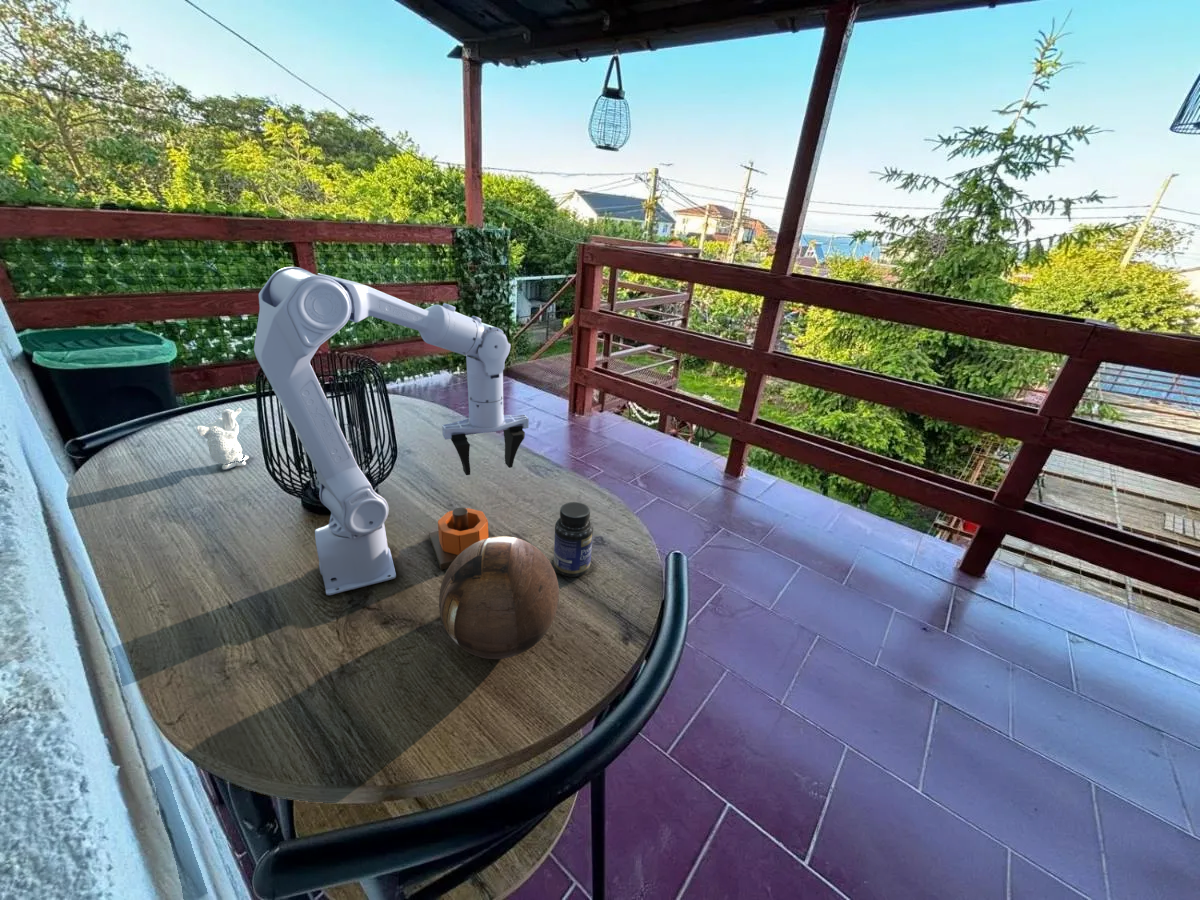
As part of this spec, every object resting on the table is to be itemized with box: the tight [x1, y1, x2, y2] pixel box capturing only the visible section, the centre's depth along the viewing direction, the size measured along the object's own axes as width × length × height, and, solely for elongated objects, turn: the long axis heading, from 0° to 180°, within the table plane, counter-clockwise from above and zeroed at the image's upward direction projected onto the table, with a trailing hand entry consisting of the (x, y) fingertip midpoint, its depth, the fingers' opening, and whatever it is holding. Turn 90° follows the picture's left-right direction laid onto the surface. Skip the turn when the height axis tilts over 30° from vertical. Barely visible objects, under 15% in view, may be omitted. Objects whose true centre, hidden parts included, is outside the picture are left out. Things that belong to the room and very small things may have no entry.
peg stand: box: [428, 507, 490, 571], centre depth 80 cm, size 9×9×7 cm
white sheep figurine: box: [196, 407, 250, 470], centre depth 98 cm, size 8×7×12 cm
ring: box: [437, 507, 489, 555], centre depth 80 cm, size 8×8×4 cm
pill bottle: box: [553, 501, 594, 578], centre depth 77 cm, size 6×6×11 cm
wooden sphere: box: [438, 535, 560, 660], centre depth 62 cm, size 15×15×15 cm
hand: (488, 468), depth 86 cm, fingers open, 7 cm apart
